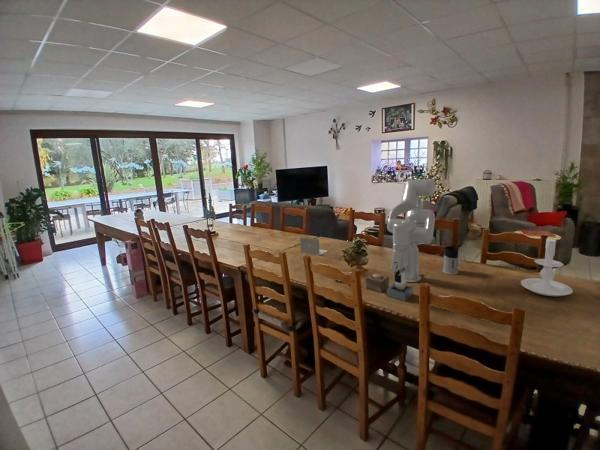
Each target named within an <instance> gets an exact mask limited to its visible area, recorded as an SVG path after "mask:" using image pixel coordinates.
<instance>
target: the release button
mask: <svg viewBox="0 0 600 450" xmlns="http://www.w3.org/2000/svg"><path fill="white" fill-rule="evenodd" d="M373 274H374V273H373ZM382 275H383V274H380V273H375V274H374V275H373V277H374V279H378V280H380V279H381V277H382Z"/></svg>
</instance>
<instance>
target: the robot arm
mask: <svg viewBox="0 0 600 450" xmlns="http://www.w3.org/2000/svg"><path fill="white" fill-rule="evenodd" d="M435 190H436V181H435V179H433V178H432V179H431V178H428V179H426V178H425V179H424V178H423V179H418V178H417V179H409V180H406V181H405V182H404V185H403V191H402V196H401V200H400V203H398V204H397V205H395V206H394V207H393V208H392V210H390V212H389V214H388V218H387V219H388V220H387V223H386V228H387V231H388V232H389V233H392V256H391V269H392V272H393V275H394V283H395V282H398V283H401V275H400V274H401V270H402V269H405V270H406V273H405V283H417V282H419V281H421V280H422V276H421V275H419V271H420V268H419V260H420V259H419V258H420V257H419V255H420V251H419V247H418V245H417V244H423V245H424V244H425V245H426V244H428V245H429V244H431V242H433V237H434V232H435V231H434V230H435V224H436V223H435V221H436V215H435V212H434V211H433V210H432V209H425V208H424V209H423V205H424V204H423V200H422V199H421V198H420V197H430V196H432V195H433V194H434V193H435V192H436V191H435ZM402 214H405V218H397V217H399V216H400V215H402ZM397 268H399V269H397ZM397 270H398V271H399V272H398V271H397Z"/></svg>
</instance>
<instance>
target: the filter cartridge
mask: <svg viewBox="0 0 600 450" xmlns="http://www.w3.org/2000/svg"><path fill="white" fill-rule="evenodd" d="M397 269H399V268H397ZM397 271H398V270H397ZM398 272H399V271H398ZM405 273H406V270H405V269H402V270H401V274H400V275H401V283H398V282H395V281H394V283H395V288H396V289H398V290H404V289H405V285H406V282H405Z"/></svg>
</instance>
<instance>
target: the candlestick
mask: <svg viewBox="0 0 600 450" xmlns="http://www.w3.org/2000/svg"><path fill="white" fill-rule="evenodd" d="M545 240H546V241H545V247H544V248H545V255H544V258H537V259H534V260H533V261H534V263H536V264H537V265H540V266H543V268H542V269H541V270H540V272H539V275H540V278H537V277H533V278H525V279H522V280H521V281H520V285H521V286H522V287H523V288H526V289H527V290H529V291H530V292H533V293H535V294H537V295H542V296H546V297H547V296H548V297H563V296H567V295H572V293H574V291H573V288H572V287H571V286H569V285H567V284H565V283H563V282H559V281H556V280H555V276H556V269H557V268H561V267H563V266H564V265H565V264H564V263H562V262H561V261H558V260H554V256H555V253H556V244H557V240H555V239H553V238H552V239H551V238H546V239H545Z"/></svg>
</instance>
